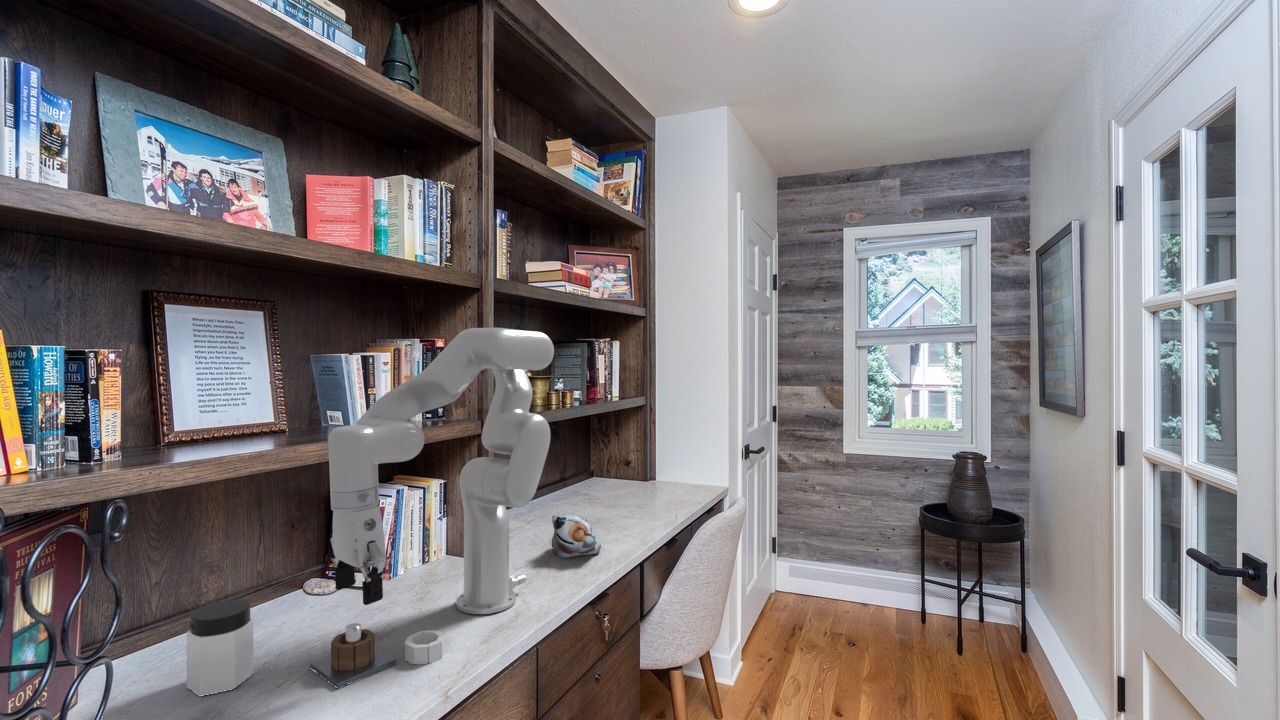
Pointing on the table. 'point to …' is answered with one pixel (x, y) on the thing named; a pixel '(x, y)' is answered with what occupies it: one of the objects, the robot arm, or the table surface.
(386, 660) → the post
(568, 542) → the lucky cat figurine
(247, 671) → the jar
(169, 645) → the table surface
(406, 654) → the collar
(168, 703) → the table surface
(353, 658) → the brown angular block
